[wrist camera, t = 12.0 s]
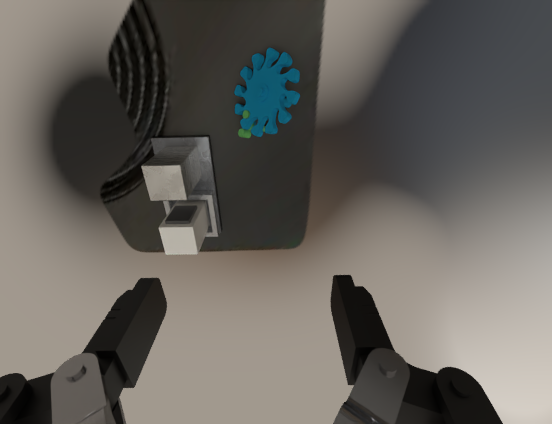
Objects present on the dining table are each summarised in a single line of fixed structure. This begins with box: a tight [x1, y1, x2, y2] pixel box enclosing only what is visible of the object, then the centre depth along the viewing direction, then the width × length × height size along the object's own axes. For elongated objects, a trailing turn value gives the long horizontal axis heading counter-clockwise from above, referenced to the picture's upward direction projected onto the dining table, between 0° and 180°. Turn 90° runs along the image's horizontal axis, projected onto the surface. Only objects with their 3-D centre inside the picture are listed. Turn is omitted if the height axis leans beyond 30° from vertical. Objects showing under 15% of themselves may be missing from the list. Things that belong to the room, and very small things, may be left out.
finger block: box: [159, 200, 210, 255], centre depth 40 cm, size 4×5×8 cm
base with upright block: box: [141, 135, 222, 237], centre depth 39 cm, size 16×8×9 cm, turn 1°
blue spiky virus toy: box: [234, 48, 300, 138], centre depth 35 cm, size 11×6×10 cm
